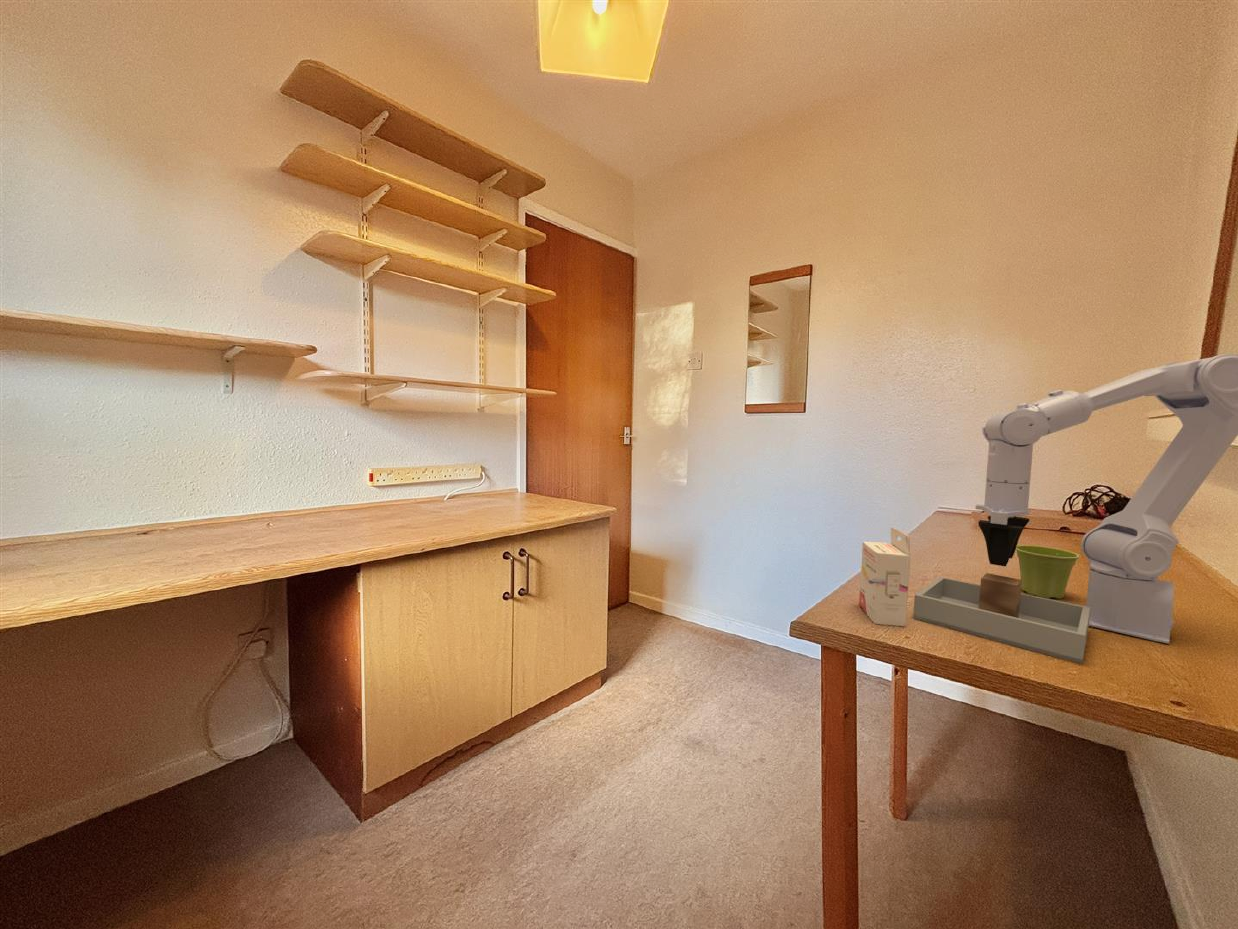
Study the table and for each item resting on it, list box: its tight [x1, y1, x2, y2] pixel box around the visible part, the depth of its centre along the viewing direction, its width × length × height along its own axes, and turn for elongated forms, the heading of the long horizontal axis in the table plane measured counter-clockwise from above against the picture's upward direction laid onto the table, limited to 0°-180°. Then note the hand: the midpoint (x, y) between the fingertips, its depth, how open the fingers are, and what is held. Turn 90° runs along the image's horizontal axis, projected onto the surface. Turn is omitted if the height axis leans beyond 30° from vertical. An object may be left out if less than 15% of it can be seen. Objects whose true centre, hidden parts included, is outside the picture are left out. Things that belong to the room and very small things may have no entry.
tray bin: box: [912, 576, 1090, 665], centre depth 75 cm, size 20×16×4 cm
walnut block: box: [979, 572, 1022, 618], centre depth 75 cm, size 4×4×7 cm
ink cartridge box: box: [858, 526, 911, 627], centre depth 78 cm, size 9×5×15 cm, turn 168°
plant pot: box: [1015, 544, 1081, 600], centre depth 91 cm, size 9×9×9 cm
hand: (1001, 561), depth 80 cm, fingers open, 7 cm apart
